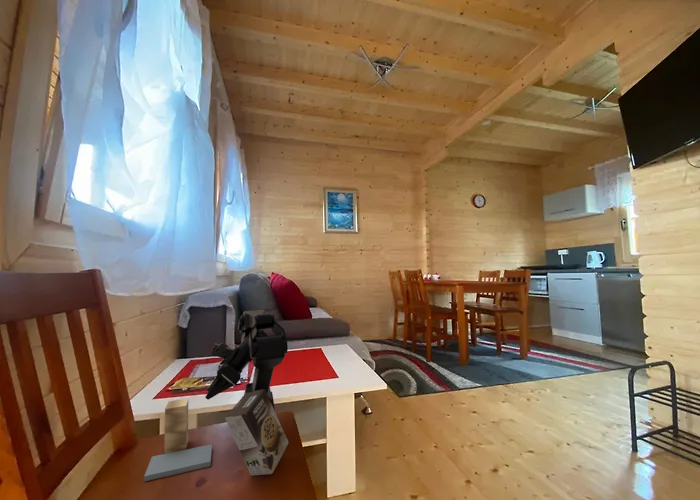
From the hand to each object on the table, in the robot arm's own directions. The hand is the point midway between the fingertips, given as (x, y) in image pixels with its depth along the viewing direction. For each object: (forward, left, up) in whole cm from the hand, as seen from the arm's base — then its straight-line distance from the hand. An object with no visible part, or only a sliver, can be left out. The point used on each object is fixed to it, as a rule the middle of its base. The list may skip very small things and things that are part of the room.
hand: (207, 395), depth 88 cm
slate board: (+6, +8, -13) cm, 16 cm away
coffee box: (-15, +18, -11) cm, 26 cm away
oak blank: (+8, 0, -13) cm, 15 cm away
